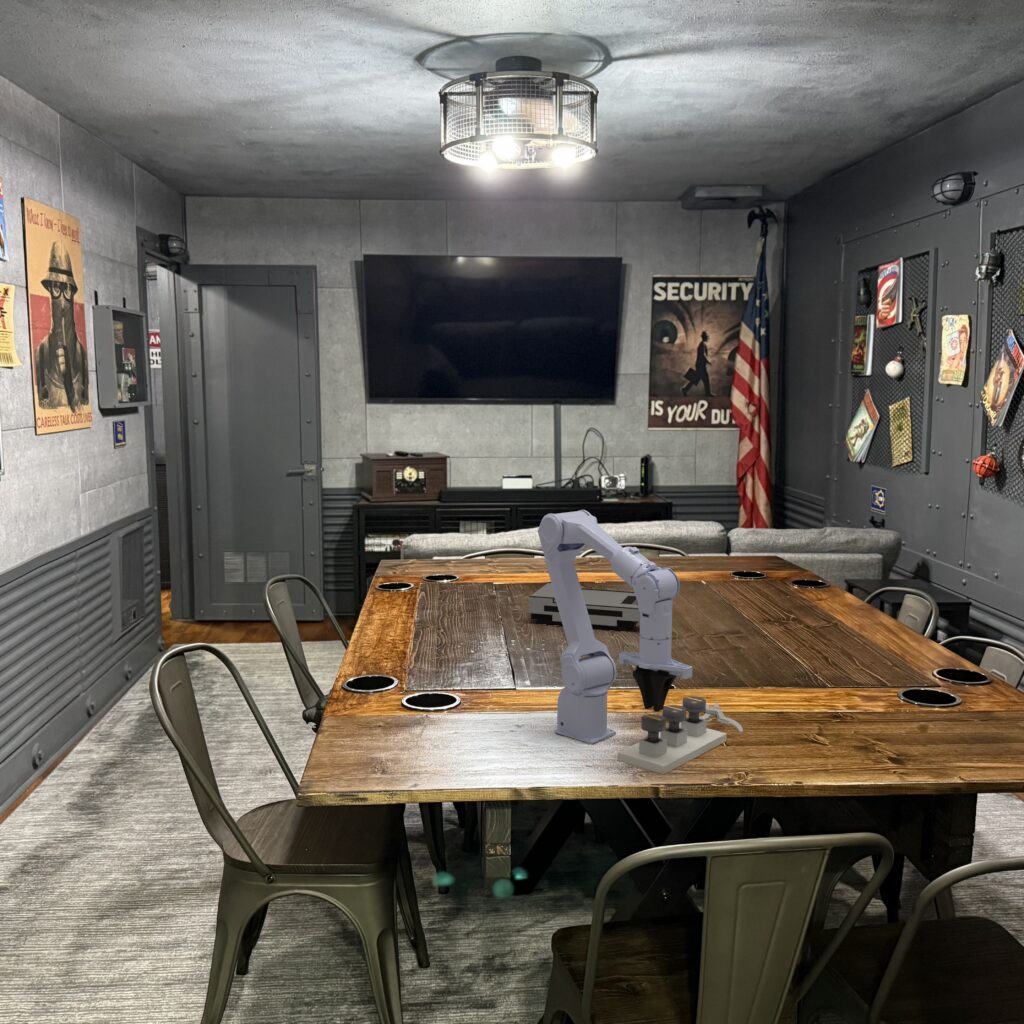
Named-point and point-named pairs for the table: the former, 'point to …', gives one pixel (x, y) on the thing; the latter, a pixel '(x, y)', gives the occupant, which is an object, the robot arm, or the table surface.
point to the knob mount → (673, 747)
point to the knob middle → (674, 716)
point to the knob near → (653, 726)
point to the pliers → (720, 717)
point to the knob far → (694, 707)
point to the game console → (589, 608)
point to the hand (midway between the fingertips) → (653, 708)
